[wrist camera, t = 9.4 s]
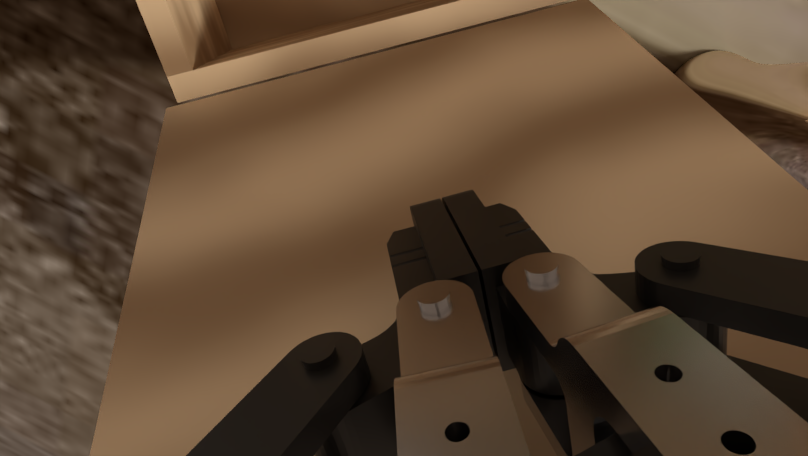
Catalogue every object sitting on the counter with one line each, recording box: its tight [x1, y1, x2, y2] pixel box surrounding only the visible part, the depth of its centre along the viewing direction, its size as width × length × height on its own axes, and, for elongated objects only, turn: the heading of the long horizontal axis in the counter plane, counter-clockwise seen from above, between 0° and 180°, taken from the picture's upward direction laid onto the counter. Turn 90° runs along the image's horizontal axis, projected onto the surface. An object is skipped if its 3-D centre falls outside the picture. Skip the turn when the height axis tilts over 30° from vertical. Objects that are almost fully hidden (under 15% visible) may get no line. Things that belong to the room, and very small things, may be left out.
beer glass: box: [674, 50, 808, 190], centre depth 27 cm, size 7×7×15 cm
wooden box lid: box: [90, 0, 808, 456], centre depth 15 cm, size 17×17×1 cm
